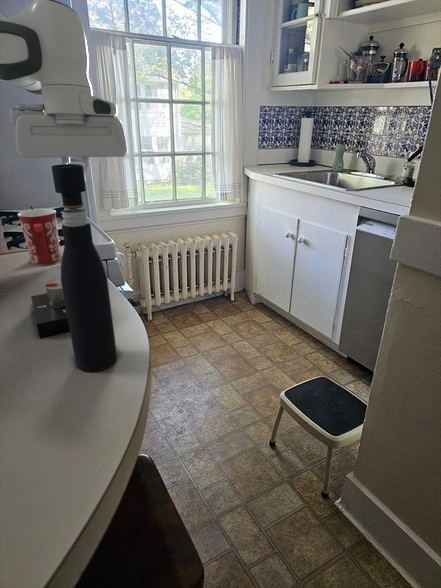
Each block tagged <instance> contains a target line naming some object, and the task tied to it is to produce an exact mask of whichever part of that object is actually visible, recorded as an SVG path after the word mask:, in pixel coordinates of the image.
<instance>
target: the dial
mask: <svg viewBox="0 0 441 588" xmlns="http://www.w3.org/2000/svg"><path fill="white" fill-rule="evenodd" d="M45 289H46V294H47V295H48V300H49V305H50V307H52V308H57V309H59V308H65V307H66V306H65V300H64V295H63V289H62V284H61V279H59V280H58V279H57V280H53V281H50V282H46V283H45Z"/></svg>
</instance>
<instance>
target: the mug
mask: <svg viewBox="0 0 441 588" xmlns="http://www.w3.org/2000/svg"><path fill="white" fill-rule="evenodd" d="M17 217H18V219H19V223H20V226H21V229H22V230H21V231H22V233H23V236H24V239H25V240H24V241H25V244H26V249H27V251H28V255H29V259H30V262H31V263H32V264H34V265H44V267H49V266H53V265H54V266H55V263H57V262H59V261H60V260H62V257H61V248H60V243H59V242H60V240H59V231H58V223H57V211H56V210H55V209H51V208H36V209H28V210H24V211H20V212H18V213H17Z"/></svg>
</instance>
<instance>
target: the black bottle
mask: <svg viewBox="0 0 441 588" xmlns="http://www.w3.org/2000/svg"><path fill="white" fill-rule="evenodd" d="M83 168H84V165H83V164H79V163H78V164H77V163H69V164H62V163H61V164H54V165H51V171H52V179H53V185H54V191H55V193H57V194H61V200H62V207H63V209H64V210H62V211H61V212H62V214H61V217H62V218H63V219H62V222H63V224H62V225H61V231H62V236H63V241H64V242H63V243H64V247H63V252H62V257H61V262H60V263H61V264H60V280H61V284H62V289H63V295H64V300H65V306H66V312H67V317H68V323H69V328H70V332H69V334H70V340H71V344H72V350H73V356H74V362H75V366H76V368H77V369H78V370H79V371H82V372H86V373H98V372H103V371H105V370H108V369H110V368H111V367H112V366H114V365H115V363H116V362H118V361H117V360H118V352H117V344H116V338H115V337H116V336H115V328H114V320H113V312H112V305H111V297H110V296H111V295H110V287H109V282H108V280H109V279H108V274H107V271H106V268H105V265H104V262H103V260H102V256H100V252H99V251H98V250H97V248H96V245H95V243H94V240H93V239H94V238H93V233H92V224H91V223H90V222H88V221H89V218H88V217H87V216H88V212H87V210H86V208H83V207H84V202H83V194H82V193H84V192H86V191H87V187H86V182H85V177H84V170H83Z"/></svg>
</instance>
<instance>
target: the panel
mask: <svg viewBox="0 0 441 588" xmlns="http://www.w3.org/2000/svg"><path fill="white" fill-rule="evenodd" d="M30 299H31V304H32V307H33V313H34V318H35V323H36V329H37V332H38V338H39V340H41V339H45V338H50V337H55V336H59V335H63V334H68V333H69V334H70V328H69V323H68V317H67V312H66V307H65V308H59V309H57V308H52V307H50V305H49V300H48V295H47V293H42V294H37V295H31V296H30Z"/></svg>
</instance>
